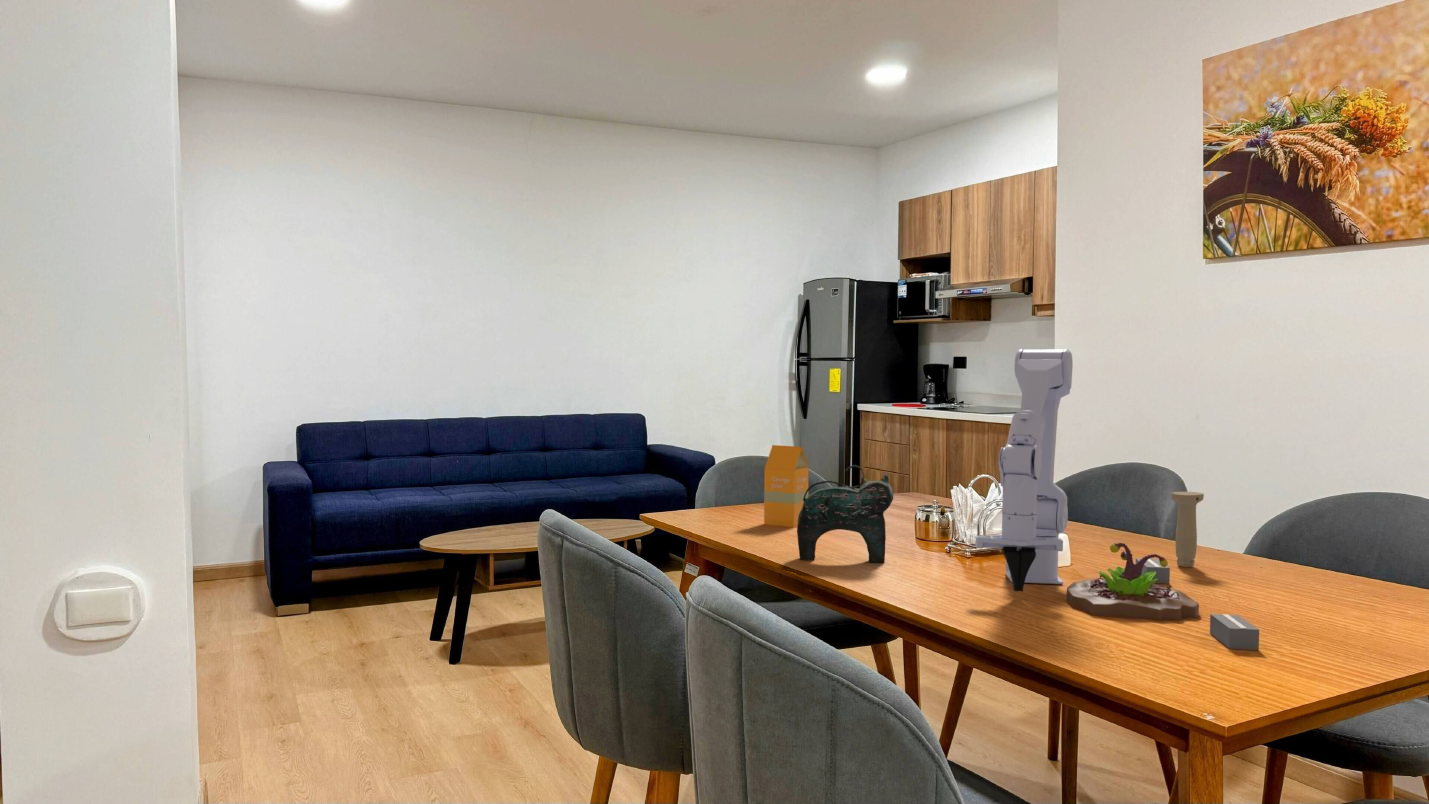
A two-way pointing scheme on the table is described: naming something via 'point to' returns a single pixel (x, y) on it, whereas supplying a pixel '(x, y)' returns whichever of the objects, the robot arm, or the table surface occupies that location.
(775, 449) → the orange juice
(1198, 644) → the table surface
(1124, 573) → the plant
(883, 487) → the ceramic cat
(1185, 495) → the handle
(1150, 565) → the grey blocks
